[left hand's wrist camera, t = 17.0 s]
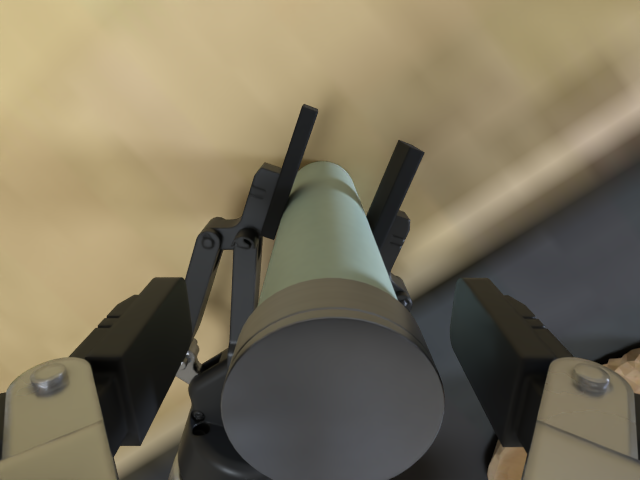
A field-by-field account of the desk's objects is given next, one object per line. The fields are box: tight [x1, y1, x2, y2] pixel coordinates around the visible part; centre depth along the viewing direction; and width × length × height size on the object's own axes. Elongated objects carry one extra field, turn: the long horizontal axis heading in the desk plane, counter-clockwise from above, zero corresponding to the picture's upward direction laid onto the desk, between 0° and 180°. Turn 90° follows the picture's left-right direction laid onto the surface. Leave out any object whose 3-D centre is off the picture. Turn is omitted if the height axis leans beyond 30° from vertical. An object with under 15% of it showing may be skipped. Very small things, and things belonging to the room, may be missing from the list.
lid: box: [221, 278, 445, 480], centre depth 10 cm, size 5×5×2 cm
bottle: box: [257, 161, 398, 307], centre depth 18 cm, size 4×4×19 cm
